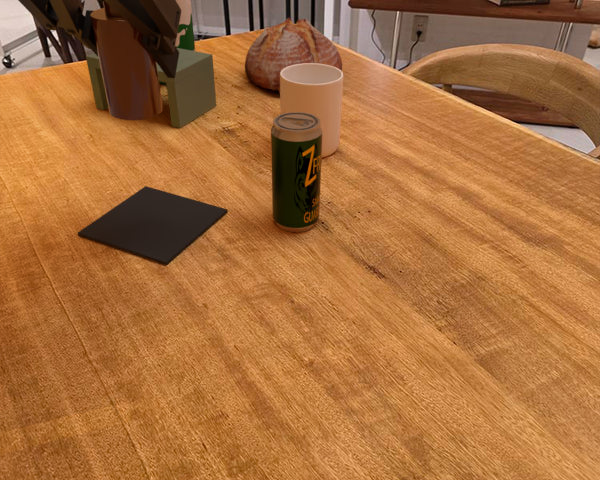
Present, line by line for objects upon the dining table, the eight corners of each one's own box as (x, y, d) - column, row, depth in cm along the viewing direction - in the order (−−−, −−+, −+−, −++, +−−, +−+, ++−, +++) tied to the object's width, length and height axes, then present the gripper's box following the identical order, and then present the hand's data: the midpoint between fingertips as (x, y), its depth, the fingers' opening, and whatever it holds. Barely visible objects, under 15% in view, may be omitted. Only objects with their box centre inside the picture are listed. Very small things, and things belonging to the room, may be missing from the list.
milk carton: (189, 88, 101) (175, -46, 88) (138, 84, 101) (116, -49, 89) (202, 71, 107) (191, -56, 94) (154, 68, 108) (137, -58, 95)
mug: (279, 124, 89) (279, 54, 83) (334, 124, 90) (337, 54, 83) (281, 160, 80) (280, 84, 74) (341, 160, 80) (346, 84, 74)
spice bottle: (101, 107, 59) (73, -27, 52) (148, 96, 62) (128, -33, 54) (123, 124, 56) (96, -16, 49) (172, 112, 59) (154, -23, 51)
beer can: (265, 227, 67) (262, 126, 59) (283, 205, 71) (282, 107, 63) (309, 237, 66) (311, 135, 58) (325, 214, 70) (329, 115, 62)
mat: (78, 235, 65) (77, 232, 65) (146, 188, 74) (145, 185, 73) (166, 265, 61) (165, 262, 61) (227, 212, 70) (227, 209, 69)
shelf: (96, 108, 93) (85, 56, 88) (136, 88, 100) (128, 39, 95) (179, 128, 88) (173, 73, 83) (216, 105, 95) (212, 54, 90)
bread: (314, 62, 115) (319, 6, 109) (355, 98, 100) (363, 35, 94) (232, 65, 110) (232, 6, 103) (263, 103, 95) (265, 38, 89)
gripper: (-141, -76, 38) (56, 90, 61) (126, -63, 35) (226, 106, 58) (-116, -183, 38) (69, 21, 61) (148, -178, 36) (238, 34, 59)
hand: (145, 62), depth 60 cm, fingers closed on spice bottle, 5 cm apart
